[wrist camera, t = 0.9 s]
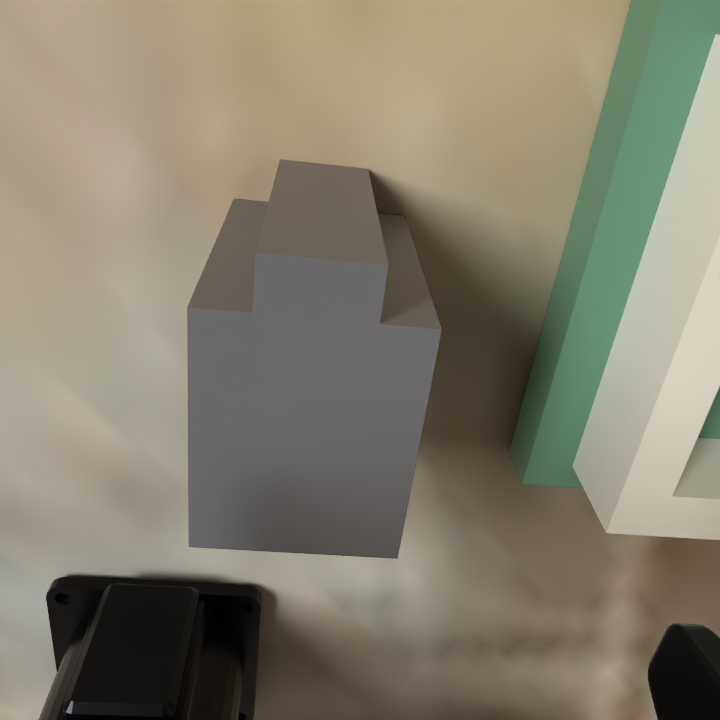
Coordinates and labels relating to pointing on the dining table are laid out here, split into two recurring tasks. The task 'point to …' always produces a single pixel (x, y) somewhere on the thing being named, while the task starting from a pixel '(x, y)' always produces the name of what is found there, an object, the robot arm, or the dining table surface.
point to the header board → (640, 294)
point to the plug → (308, 371)
